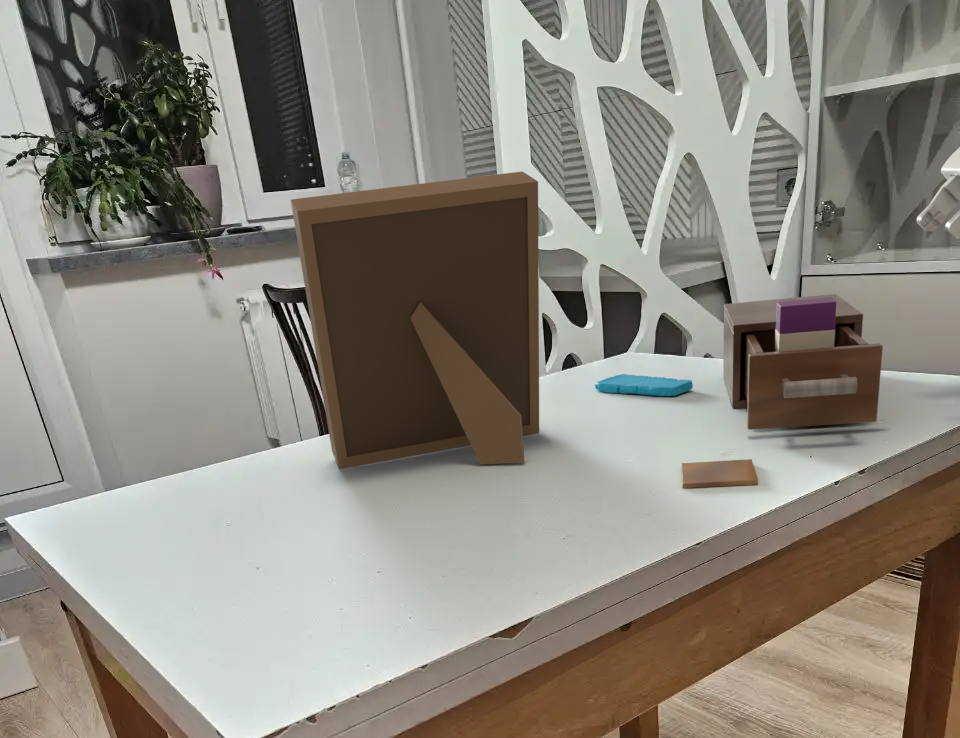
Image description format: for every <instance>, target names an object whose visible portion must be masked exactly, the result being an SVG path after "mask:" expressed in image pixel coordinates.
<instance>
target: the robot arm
mask: <svg viewBox="0 0 960 738" xmlns="http://www.w3.org/2000/svg"><path fill="white" fill-rule="evenodd" d="M940 174H942V176H943V177H944V178H945V179H946V181H945V182H944V183H943V184H942V185H941V186H940V187H939V189H938V190H937V192H936V194H935V196H934V197H933V198H932V200H931V201H930V202H929V204H928V205H927V206H926V207H925V208H924V209H923V210H922V211H921V212H920V213H919V215H917V217H916V223H917V224H918V225H919V227H921V229H922V230H924V231H925V232H934V231H935V230H937V229H938V227H939V226H940V225H942V223H944V222H945V220H947V216H948V215H949V214H950V213H951V212H952V211H953V209H954V208H955V207H956V206H957V205H958V204H959V203H960V146H959V147H957V149H956V150H955V151H954V152H953V153H952V154H951V155H950V156H949V157H948V158H947V160H946V161H945V162H944V164H943V165H942V167H941V168H940ZM945 230H946V231H947V232H948V233H949V234H950V235H951V236H952V237H953V238H954V239H957V240H960V209H959V210H957V212H956V213H954V215H953V216H952V217H951V218H950V219H948V221H947V222H946V223H945Z"/></svg>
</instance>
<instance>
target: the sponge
mask: <svg viewBox="0 0 960 738" xmlns="http://www.w3.org/2000/svg"><path fill="white" fill-rule="evenodd" d="M693 384H694V383H693V381H692V380H691V379H677V378H670V377H661V376H659V377H658V376H648V375H635V374H626V373H622V374H617V375H614V376H609V377H606V378H604V379H601V380H599V381H596V382H595V384H594V389H595V390H598V391H599V392H604V393H609V394H618V393H619V394H624V395H628V394H634V395H642V396H655V397H656V396H658V397H675V396H677V395H680V394H683V393H685V392H689V391H691V390H692V389H693V387H694V385H693Z"/></svg>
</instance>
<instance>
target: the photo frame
mask: <svg viewBox="0 0 960 738" xmlns="http://www.w3.org/2000/svg"><path fill="white" fill-rule="evenodd" d="M290 204H291V210H292V217H293V223H294V229H295V235H296V241H297V248H298V253H299V259H300V260H299V261H300V266H301V271H302V277H303V283H304V291H305V296H306V302H307V308H308V314H309V321H310V326H311V332H312V339H313V344H314V350H315V357H316V363H317V368H318V375H319V380H320V386H321V394H322V398H323V406H324V411H325V417H326V424H327V430H328V435H329V441H330V442H329V443H330V446H331V452H332V455H333V458H334V460H335V463H336V466H337V469H338V470H344V469H348V468H353V467H354V468H355V467H360V466H366V465H370V464H375V463H382V462H387V461H393V460H399V459H404V458H409V457H414V456H420V455H425V454H432V453H438V452H442V451H443V452H444V451H447V450H454V449H459V448H464V447H471V449H472V450H473V452H474V454H475V456H476V459H477V460H478V463H479V465H497V464H515V463H516V464H517V463H525V450H524V437H525V436H531V435H536V434H540V307H539V306H540V296H539V295H540V293H539V285H540V284H539V280H540V279H539V278H540V275H539V271H540V270H539V269H540V268H539V267H540V266H539V181H538V180H537V179H536V178H534V177H532V176H531V175H529V174H527V173H526V172H524V171H514V172H506V173H498V174H491V175H481V176H474V177H465V178H457V179H448V180H440V181H432V182H425V183H424V182H423V183H414V184H408V185H407V184H406V185H399V186H391V187H383V188H374V189H367V190H366V189H365V190H359V191H348V192H342V193H334V194H332V193H331V194H324V195H317V196H316V195H315V196H309V197H307V196H306V197H300V198H292V199H290Z"/></svg>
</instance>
